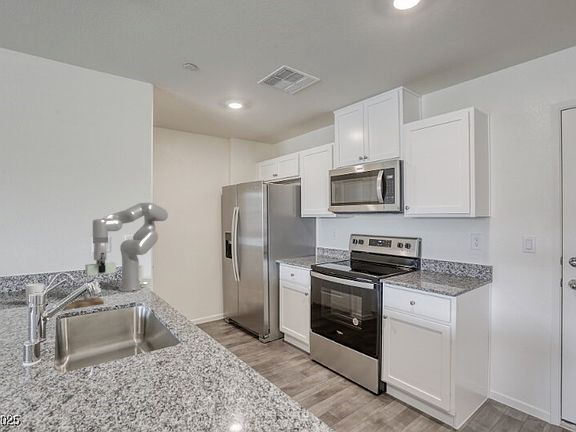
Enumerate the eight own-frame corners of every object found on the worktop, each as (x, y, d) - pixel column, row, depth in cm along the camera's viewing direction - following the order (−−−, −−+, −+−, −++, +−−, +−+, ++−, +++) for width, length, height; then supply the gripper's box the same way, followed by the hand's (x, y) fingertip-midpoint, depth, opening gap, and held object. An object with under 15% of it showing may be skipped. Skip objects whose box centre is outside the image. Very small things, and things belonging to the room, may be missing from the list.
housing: (113, 271, 189) (112, 262, 189) (115, 272, 184) (115, 263, 184) (85, 274, 180) (85, 264, 180) (87, 275, 175) (87, 266, 175)
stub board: (98, 299, 175) (98, 290, 175) (103, 303, 166) (103, 294, 166) (53, 306, 162) (53, 296, 162) (56, 311, 153) (56, 300, 153)
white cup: (35, 305, 165) (35, 285, 165) (21, 305, 165) (21, 286, 165) (47, 301, 173) (47, 283, 173) (33, 301, 173) (33, 283, 173)
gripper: (90, 240, 186) (90, 270, 186) (96, 241, 173) (96, 274, 173) (104, 239, 191) (104, 269, 191) (111, 241, 178) (111, 272, 178)
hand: (100, 271), depth 182 cm, fingers closed on housing, 6 cm apart
